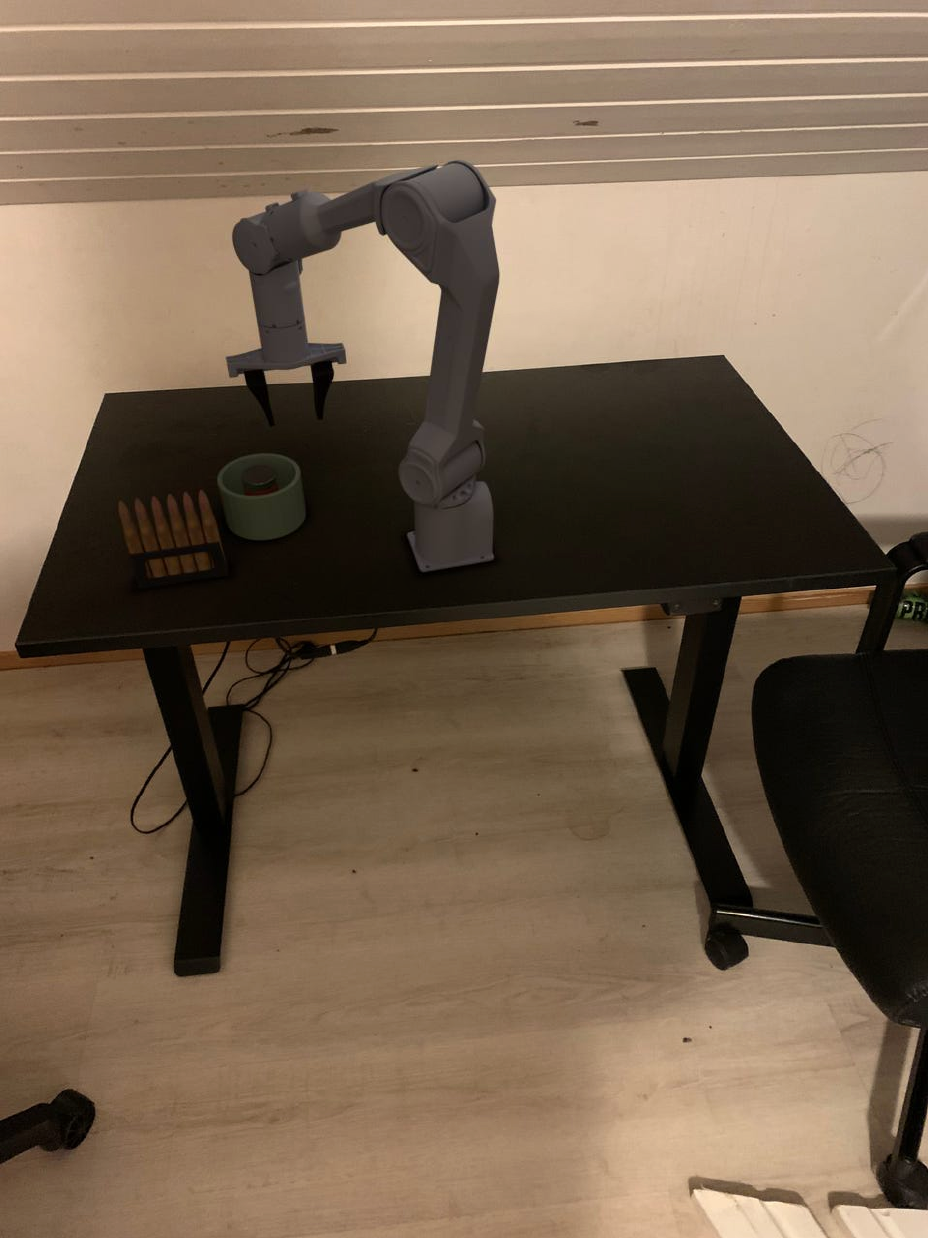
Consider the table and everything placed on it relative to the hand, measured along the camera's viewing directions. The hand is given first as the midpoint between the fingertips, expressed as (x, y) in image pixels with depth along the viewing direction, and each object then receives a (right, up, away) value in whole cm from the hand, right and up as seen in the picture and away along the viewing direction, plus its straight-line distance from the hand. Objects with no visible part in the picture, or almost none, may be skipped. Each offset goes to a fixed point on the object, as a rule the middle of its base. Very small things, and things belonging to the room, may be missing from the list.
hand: (295, 419), depth 113 cm
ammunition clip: (-12, -21, -7) cm, 25 cm away
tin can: (-4, -12, +1) cm, 13 cm away
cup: (-4, -13, +2) cm, 13 cm away
